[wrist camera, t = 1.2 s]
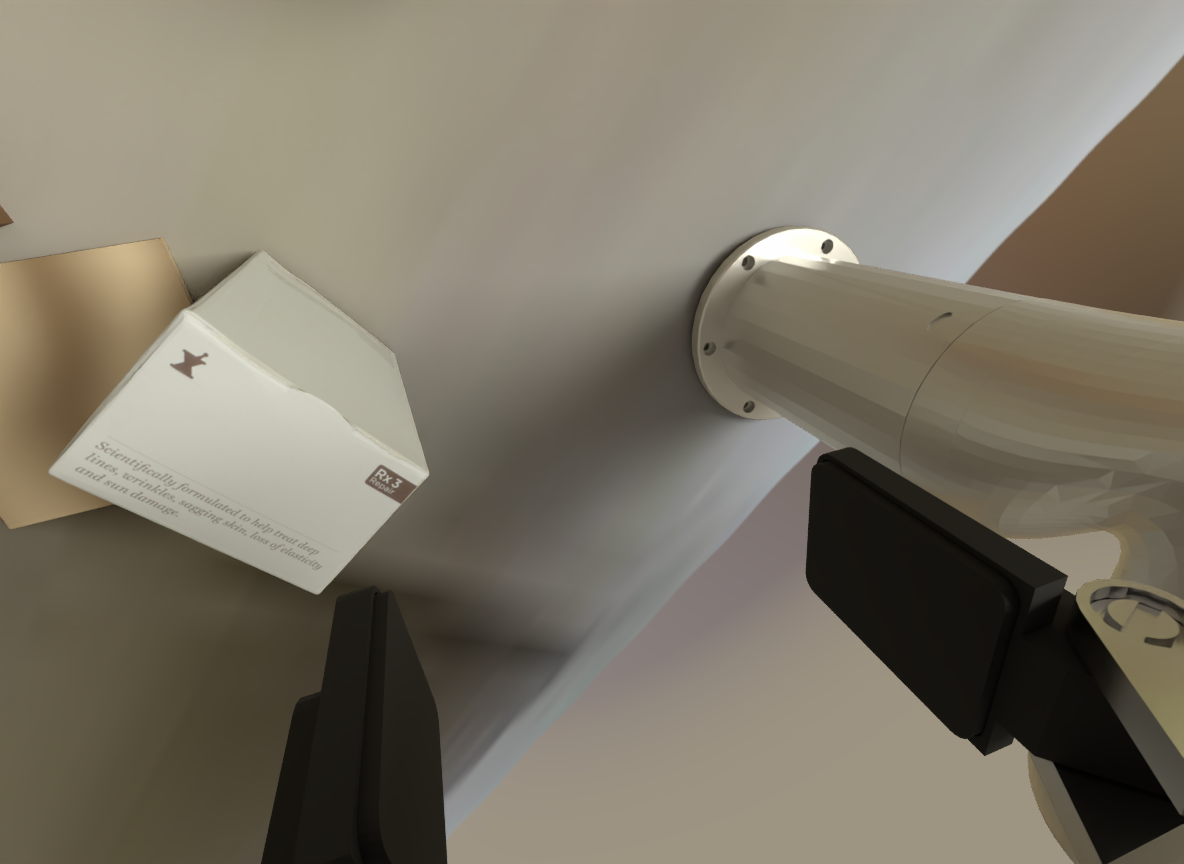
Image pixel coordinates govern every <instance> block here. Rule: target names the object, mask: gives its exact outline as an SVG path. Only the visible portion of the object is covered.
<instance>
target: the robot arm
mask: <svg viewBox="0 0 1184 864" xmlns="http://www.w3.org/2000/svg"><path fill="white" fill-rule="evenodd" d="M742 261H743V263H742ZM705 345H706V346H705ZM704 346H705V347H704ZM692 355H693V360H694V365H695V369H696V372H697V374H698V376H699V379H700V381H701V384H702V385H703V386H704V388H705V389H706V391H707V392H708V393H709V395H710V396H711V397H712V398H713V399H715V400H716V401H717V402H718V403H719V404H720V405H722V406H723V407H725V408H726V409H728V410H729V411H731V412H732V413H734V414H737V415H739V416H742V417H745V418H750V419H758V420H766V419H777V418H780V417H784V418H786V419H787V420H789V421H791V422H792V423H794V424H795V425H797V426H799V427H800V428H802V429H803V430H805V431H807V432H808V433H810V434H811V435H813V436H815V437H816V438H818V439H819V440H821V441H823V442H824V443H826V444H827V445H829V446H830V447H832V448H834V449H835V450H836V451H833V452H829V453H826V454H823V455H821V456H820V457H819V459H818V461H817V464H816V465H814V467H813V468H812V473H811V488H810V506H809V524H808V541H807V559H806V578H807V581H808V584H809V586H810V587H811V589H812V590H813V592H814V593H815V594H816V595H817V596H818V597H819V598H820V599H821V600H822V601H823V602H824V603H825V604H826V605H827V606H828V607H829V608H830V609H831V610H832V611H833V612H834V613H835V614H836V615H837V616H838V617H839V618H840V619H841V620H842V621H843V622H844V623H845V624H846V625H847V626H848V627H849V628H850V629H851V630H852V631H853V632H854V633H855V634H856V635H857V636H858V637H859V638H860V639H861V640H862V641H863V643H864V644H865V645H866V646H867V647H868V648H870V650H871V651H872V652H873V653H875V655H876V656H877V657H878V658H879V659H880V660H881V661H882V662H883V663H884V664H885V665H886V666H887V667H888V668H889V669H890V670H891V671H892V672H893V673H894V674H895V675H896V676H897V677H898V678H899V679H900V680H901V681H902V682H903V683H904V684H905V685H906V686H907V687H908V688H909V689H910V690H911V691H912V692H913V693H914V694H915V695H916V696H917V697H918V698H919V699H920V700H921V701H922V702H923V703H924V704H925V705H926V706H927V707H928V708H929V709H930V710H931V712H933V714H934V715H935V716H936V717H937V718H938V719H940V721H941V722H942V723H943V724H944V725H945V726H946V727H947V728H948V729H949V730H950V731H951V732H953V733H954V734H955V735H957V736H958V737H960V738H963V739H968V740H969V741H970V742H971V743H972V744H973V745H974V746H975V747H976V748H977V749H978V750H979V751H980V752H981V753H982V754H983V755H984V756H986V755H988V754H990V753H992V752H995V751H997V750H999V749H1001V748H1004V747H1006V746H1008V745H1010V744H1012V742H1013V739H1014V737H1015V738H1016V739H1017V740H1018V741H1019V742H1020V743H1021V744H1022V745H1023V746H1024V747H1025V748H1026V749H1028V769H1029V778H1030V783H1031V788H1032V791H1033V793H1034V797H1035V799H1036V802H1037V805H1038V807H1039V810H1040V812H1041V814H1042V816H1043V818H1044V820H1045V823H1046V824H1047V826H1048V828H1049V829H1050V831H1051V833H1052V834H1053V836H1054V838H1055V839H1056V840H1057V842H1058V843H1059V844H1060V846H1061V847H1062V848H1063V850H1064V851H1065V853H1066V854H1067V855H1068V856H1069V858H1070V859H1071V860H1072V861H1073V863H1074V864H1184V322H1182V321H1175V320H1168V319H1161V318H1155V317H1148V316H1142V315H1135V314H1129V313H1123V312H1116V311H1110V310H1104V309H1098V308H1093V307H1088V306H1082V305H1077V304H1072V303H1066V302H1061V301H1055V300H1050V299H1043V298H1036V297H1031V296H1025V295H1020V294H1015V293H1009V292H1004V291H998V290H993V289H988V288H983V287H977V286H972V285H967V284H962V283H956V282H951V281H946V280H940V279H935V278H930V277H924V276H919V275H914V274H908V273H903V272H898V271H893V270H887V269H882V268H877V267H871V266H866V265H861V264H860V263H859V260H858V258H857V257H856V255H855V254H854V253H853V251H852V250H851V249H850V247H849V246H848V245H847V244H846V243H845V242H843V241H842V240H841V239H840V238H838V237H837V236H836V235H834V234H831V233H829V232H827V231H825V230H822V229H818V228H812V227H806V226H785V227H780V228H775V229H771V230H768V231H766V232H764V233H761V234H759V235H757V236H754V237H753V238H751V239H750V240H748V241H747V242H745V243H744V244H742V245H741V246H739V247H738V248H737V249H736V250H735V251H734V252H733V253H732V254H731V255H730V256H729V257H728V258H726V259H725V260H724V261H723V263H722V264H721V265H720V267H719V268H718V269H717V271H716V272H715V273H714V275H713V276H712V277H711V279H710V281H709V283H708V285H707V287H706V288H705V290H704V292H703V294H702V296H701V299H700V302H699V305H698V308H697V311H696V314H695V318H694V324H693V330H692ZM1097 531H1105V532H1108V533H1111V534H1113V535H1114V536H1115V537H1116V538H1117V539H1118V540H1119V543H1120V548H1121V553H1120V558H1119V561H1118V563H1117V566H1116V568H1115V570H1114V572H1113V574H1112V576H1111V578H1110V579H1100V580H1099V579H1098V580H1094V581H1091V582H1087V583H1085V584H1083V585H1082V586H1081V587H1080V588H1079V589H1078V590H1077V593H1076V595H1073V594H1071V593H1070V592H1068V591H1067V590H1065V589H1064V586H1065V584H1066V580H1067V577H1068V576H1067V575H1065V574H1064V573H1062V572H1060V571H1059V570H1057V569H1055V568H1054V567H1052V566H1050V565H1049V564H1047V563H1045V562H1044V561H1042V560H1040V559H1039V558H1037V557H1035V556H1034V555H1032V554H1030V553H1029V552H1027V551H1025V550H1024V549H1022V548H1020V547H1019V546H1017V545H1015V544H1014V543H1012V542H1010V541H1009V540H1007V539H1005V538H1010V539H1042V538H1052V537H1062V536H1070V535H1077V534H1084V533H1090V532H1097ZM261 864H447V850H446V833H445V817H444V800H443V783H442V766H441V749H440V733H439V719H438V713H437V708H436V704H435V701H434V698H433V695H432V693H431V690H430V688H429V685H428V682H427V680H426V677H425V675H424V672H423V670H422V667H421V664H420V662H419V659H418V657H417V654H416V651H415V649H414V646H413V644H412V641H411V638H410V636H409V633H408V631H407V628H406V626H405V623H404V620H403V618H402V615H401V613H400V610H399V607H398V605H397V602H396V600H395V597H394V595H393V593H392V591H386V592H383V593H380V591H379V589H378V588H377V587H376V586H371V587H367V588H364V589H361V590H357V591H354V592H350V593H347V594H344V595H340V596H339V597H338V598H337V601H336V606H335V612H334V618H333V624H332V630H331V636H330V642H329V648H328V654H327V660H326V666H325V672H324V678H323V684H322V690H321V692H318V693H315V694H312V695H308V696H305V697H302V698H300V699H299V701H298V702H297V703H296V706H295V709H294V712H293V716H292V721H291V725H290V730H289V735H288V739H287V744H286V749H285V754H284V758H283V763H282V768H281V772H280V777H279V782H278V787H277V791H276V796H275V801H274V805H273V810H272V815H271V819H270V824H269V829H268V834H267V838H266V843H265V848H264V852H263V857H262V862H261Z"/></svg>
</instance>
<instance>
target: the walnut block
mask: <svg viewBox="0 0 1184 864" xmlns="http://www.w3.org/2000/svg"><path fill="white" fill-rule="evenodd" d="M11 223H14V222H13V221H12V219H11V218H10V217H9V216H8V214H7V213H6V212H5V211H4V209H3V208H2V207H1V206H0V227H2V226H5V225H8V224H11Z"/></svg>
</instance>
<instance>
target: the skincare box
mask: <svg viewBox="0 0 1184 864" xmlns="http://www.w3.org/2000/svg"><path fill="white" fill-rule="evenodd" d="M48 473H49V474H50V475H52V476H54V477H56V478H58V479H60V480H62V481H64V482H66V483H68V484H70V485H73V486H75V487H77V488H79V489H81V490H84V491H86V492H88V493H91V494H93V495H95V496H97V497H100V498H102V499H104V500H106V501H109V502H111V503H113V504H115V505H118V506H120V507H122V508H124V509H127V510H129V511H131V512H133V513H136V514H138V515H140V516H142V517H144V518H147V519H149V520H151V521H153V522H155V523H158V524H160V525H162V526H164V527H167V528H169V529H171V530H174V531H176V532H178V533H180V534H182V535H185V536H187V537H189V538H191V539H193V540H195V541H198V542H200V543H202V544H204V545H206V546H209V547H211V548H213V549H215V550H218V551H220V552H222V553H224V554H227V555H229V556H231V557H233V558H236V559H238V560H240V561H242V562H245V563H247V564H249V565H251V566H254V567H256V568H258V569H260V570H263V571H265V572H267V573H269V574H271V575H274V576H276V577H278V578H280V579H283V580H285V581H287V582H289V583H291V584H294V585H296V586H298V587H300V588H302V589H305V590H307V591H309V592H311V593H314V594H320V593H321V592H322V591H323V589H324V588H325V587H326V586H327V585H328V584H329V583H330V582H331V581H332V580H333V579H334V578H335V577H336V576H337V575H338V574H339V572H340V571H341V570H342V569H343V568H344V567H345V566H346V565H347V564H348V563H349V562H350V561H351V559H352V558H353V557H354V556H355V555H356V554H357V553H358V551H359V550H360V549H361V548H362V547H363V546H364V545H365V544H366V543H367V542H368V540H369V539H370V538H371V537H372V536H373V535H374V534H375V533H376V532H377V531H378V530H379V528H380V527H381V526H382V525H383V524H384V523H385V522H386V521H387V520H388V519H389V517H390V516H391V515H392V514H393V513H394V512H395V511H396V510H397V509H398V508H399V507H400V505H401V504H402V503H403V502H404V501H405V500H406V499H407V498H408V497H409V496H410V495H411V494H412V493H413V492H414V491H415V490H416V489H417V488H418V487H419V486H420V485H421V484H422V482H423V481H424V480H425V479H426V478H427V477H428V476H429V471H428V467H427V464H426V461H425V457H424V454H423V450H422V447H421V443H420V440H419V437H418V434H417V430H416V427H415V423H414V420H413V416H412V413H411V409H410V406H409V402H408V399H407V396H406V392H405V389H404V385H403V382H402V378H401V375H400V371H399V368H398V365H397V361H396V357H395V354H394V353H393V352H392V351H391V350H390V349H389V348H387V347H386V346H385V345H384V344H382V343H381V342H380V341H379V340H377V339H376V338H375V337H374V336H372V335H371V334H370V333H369V332H367V331H366V330H365V329H363V328H362V327H361V326H360V325H358V324H357V323H356V322H355V321H354V320H352V319H351V318H350V317H349V316H347V315H346V314H345V313H343V312H342V311H341V310H339V309H338V308H337V307H335V306H334V305H333V304H332V303H330V302H329V301H328V300H327V299H325V298H324V297H323V296H321V295H320V294H319V293H318V292H316V291H315V290H314V289H313V288H311V287H310V286H308V285H307V284H306V283H304V282H303V281H302V280H300V279H299V278H297V277H295V276H294V275H293V274H291V273H290V272H288V271H287V270H286V269H285V268H283V267H282V266H281V265H280V264H279V263H277V262H276V261H275V260H274V259H273V258H271V257H270V256H269V255H268V254H267V253H265V252H264V251H262V250H260V251H258V252H256V253H254V254H253V255H252V256H251V257H250V258H249V259H248V260H246V261H245V262H244V263H243V264H242V265H241V266H239V267H238V268H237V269H236V270H235V271H233V272H232V273H231V274H230V275H228V276H227V277H226V278H225V279H223V280H222V281H221V282H220V283H219V284H217V285H216V286H215V287H214V288H212V289H211V290H210V291H209V292H208V293H206V294H205V295H204V296H203V297H201V298H200V299H199V300H198V301H196V302H195V303H194V304H193V305H191V306H189V307H187V308H185V309H183V310H181V311H180V312H179V313H178V314H177V315H176V317H175V318H174V319H173V320H172V321H171V322H170V324H169V325H168V326H167V327H166V328H165V329H164V331H163V332H162V333H161V334H160V335H159V336H158V337H157V338H156V339H155V340H154V342H153V343H152V344H151V345H150V346H149V347H148V348H147V349H146V351H145V352H144V353H143V354H142V355H141V357H140V358H139V359H138V360H137V361H136V362H135V364H134V365H133V366H132V367H131V368H130V370H129V371H128V372H127V373H126V374H125V376H124V377H123V378H122V379H121V380H120V381H119V383H118V384H117V385H116V386H115V387H114V389H113V390H112V391H111V392H110V393H109V395H108V396H107V397H106V398H105V399H104V401H103V402H102V403H101V404H100V405H99V407H98V408H97V409H96V410H95V411H94V413H93V414H92V415H91V416H90V417H89V419H88V420H87V421H86V422H85V424H84V425H83V426H82V427H81V429H80V430H79V431H78V432H77V434H76V435H75V436H74V437H73V439H72V440H71V441H70V442H69V444H68V445H67V446H66V447H65V449H64V450H63V451H62V452H61V454H60V455H59V456H58V458H57V459H56V460H55V461H54V463H53V464H52V465H51V467H50V468H49V470H48Z"/></svg>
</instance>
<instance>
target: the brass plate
mask: <svg viewBox="0 0 1184 864" xmlns="http://www.w3.org/2000/svg"><path fill="white" fill-rule="evenodd" d="M193 304H194V303H193V301H192V299H191V297H190V295H189V292H188V290H187V288H186V286H185V284H184V282H183V279H182V277H181V275H180V273H179V271H178V269H177V266H176V264H175V262H174V260H173V258H172V256H171V253H170V251H169V249H168V247H167V245H166V243H165V240H164V238H158V239H152V240H146V241H139V242H133V243H127V244H120V245H114V246H108V247H101V248H95V249H88V250H82V251H76V252H69V253H63V254H57V255H50V256H44V257H38V258H31V259H25V260H19V261H12V262H6V263H0V517H1V518H2V519H3V521H4V522H5V523H6V525H7V526H8V527H9V529H14V528H19V527H23V526H27V525H31V524H35V523H39V522H43V521H47V520H51V519H55V518H60V517H64V516H68V515H72V514H76V513H80V512H84V511H88V510H92V509H96V508H100V507H105V506H109V505H113V503H111V502H109V501H106V500H104V499H102V498H100V497H97V496H95V495H93V494H91V493H88V492H86V491H84V490H81V489H79V488H77V487H75V486H73V485H70V484H68V483H66V482H64V481H62V480H60V479H58V478H56V477H54V476H52V475H50V474H49V473H48V470H49V468H50V467H51V465H52V464H53V463H54V461H55V460H56V459H57V458H58V456H59V455H60V454H61V452H62V451H63V450H64V449H65V447H66V446H67V445H68V444H69V442H70V441H71V440H72V439H73V437H74V436H75V435H76V434H77V432H78V431H79V430H80V429H81V427H82V426H83V425H84V424H85V422H86V421H87V420H88V419H89V417H90V416H91V415H92V414H93V413H94V411H95V410H96V409H97V408H98V407H99V405H100V404H101V403H102V402H103V401H104V399H105V398H106V397H107V396H108V395H109V393H110V392H111V391H112V390H113V389H114V387H115V386H116V385H117V384H118V383H119V381H120V380H121V379H122V378H123V377H124V376H125V374H126V373H127V372H128V371H129V370H130V368H131V367H132V366H133V365H134V364H135V362H136V361H137V360H138V359H139V358H140V357H141V355H142V354H143V353H144V352H145V351H146V349H147V348H148V347H149V346H150V345H151V344H152V343H153V342H154V340H155V339H156V338H157V337H158V336H159V335H160V334H161V333H162V332H163V331H164V329H165V328H166V327H167V326H168V325H169V324H170V322H171V321H172V320H173V319H174V318H175V317H176V315H177V314H178V313H179V312H180V311H181V310H183V309H185V308H187V307H189V306H191V305H193Z"/></svg>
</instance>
